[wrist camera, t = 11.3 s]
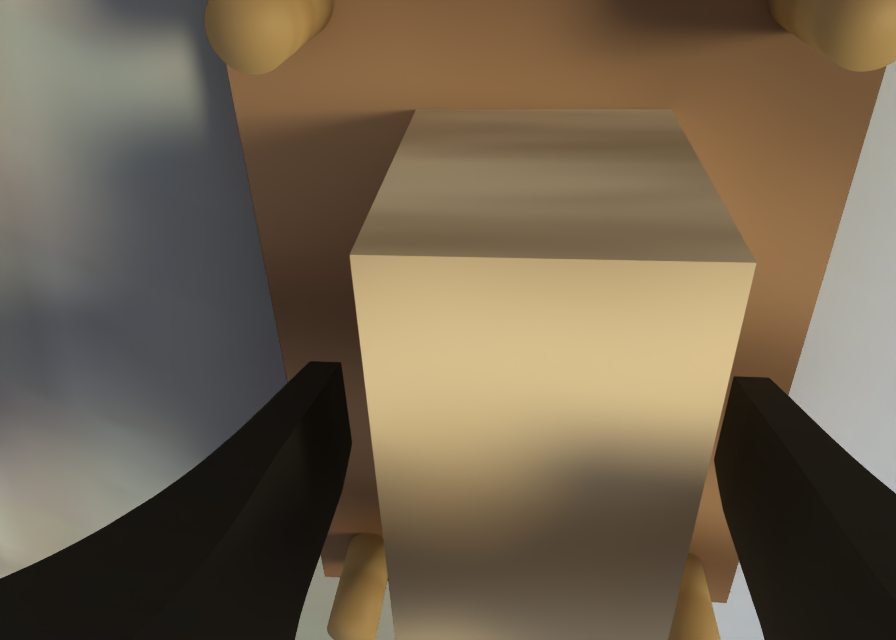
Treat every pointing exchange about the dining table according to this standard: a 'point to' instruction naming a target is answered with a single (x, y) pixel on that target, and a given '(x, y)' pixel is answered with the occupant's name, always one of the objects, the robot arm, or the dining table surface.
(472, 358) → the block
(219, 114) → the dining table surface
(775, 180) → the chassis
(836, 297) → the dining table surface
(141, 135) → the dining table surface
